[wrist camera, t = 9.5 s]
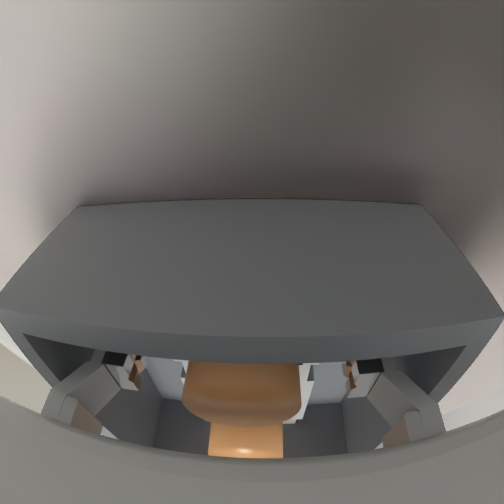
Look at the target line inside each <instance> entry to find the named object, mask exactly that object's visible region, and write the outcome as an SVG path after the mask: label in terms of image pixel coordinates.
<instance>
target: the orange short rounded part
mask: <svg viewBox="0 0 504 504" xmlns="http://www.w3.org/2000/svg"><path fill="white" fill-rule="evenodd" d="M208 455H209V456H221V457H236V458H283V422H281V423H278V424H275V425H270V426H264V427H251V428H248V427H232V426H225V425H220V424H216V423H213V422H211V430H210V438H209V447H208Z"/></svg>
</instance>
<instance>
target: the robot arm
mask: <svg viewBox="0 0 504 504" xmlns="http://www.w3.org/2000/svg"><path fill="white" fill-rule="evenodd" d="M146 364H147V356H139V355H131V354H124V353H117V352H110V351H104V350H98V349H95V352H94V354H93V356H92V358H91V361H87V362H86V363H84V364H83V365H82V366H80V367H79V368H78V369H76V370H75V371H74V372H73V373H71V374H70V375H69V376H67V377H66V378H65V379H64V380H62V381H61V382H60V383H58V384H57V385H56V386H55V387H53V388H52V389H51V390H50V392H49V395H48V397H47V400H46V402H45V405H44V407H43V409H42V412H41V414H40V413H37V412H35V411H33V410H30V409H28V408H26V407H24V406H22V405H19V404H17V403H15V402H13V401H11V400H9V399H7V398H5V397H3V396H1V395H0V504H504V410H502V411H499V412H497V413H495V414H492V415H490V416H488V417H485V418H483V419H480V420H478V421H475V422H472V423H470V424H467V425H464V426H461V427H459V428H456V429H453V430H450V431H446V430H445V427H444V423H443V419H442V416H441V412H440V409H439V405H438V404H437V403H436V402H435V401H434V400H433V399H432V398H431V397H430V396H429V395H427V394H426V393H425V392H424V391H423V390H422V389H421V388H420V387H419V386H417V385H416V384H415V383H414V382H413V381H412V380H411V379H410V378H409V377H407V376H406V375H405V374H404V373H403V372H402V371H401V370H399V371H397V368H396V364H395V361H394V358H393V357H387V358H378V359H368V360H356V361H342V371H343V375H344V376H345V377H346V378H347V380H346V382H345V389H346V394H347V398H353V397H365V396H367V398H368V399H369V401H370V402H371V403H372V404H373V405H374V407H375V408H376V409H377V410H378V411H379V413H380V414H381V415H382V416H383V417H384V419H385V420H386V421H387V422H388V423H389V425H390V426H391V427H392V428H391V429H390V430H389V431H388V432H387V433H386V434H385V435H384V436H383V437H382V442H383V448H378V449H373V450H367V451H361V452H354V453H346V454H338V455H328V456H317V457H302V458H236V457H221V456H209V455H200V454H191V453H184V452H177V451H170V450H164V449H159V448H153V447H148V446H143V445H139V444H134V443H130V442H126V441H121V440H118V439H114V438H110V437H106V436H103V435H101V432H102V428H103V425H102V423H101V422H100V421H99V420H97V419H96V418H95V417H94V416H95V415H96V414H97V413H98V412H99V411H100V410H101V409H102V408H103V407H104V406H105V405H106V404H107V403H108V402H109V401H110V400H111V399H112V398H113V397H114V396H115V395H116V394H117V393H118V392H119V391H120V390H121V388H123V389H130V390H137V391H139V388H140V384H141V381H142V375H141V372H142V371H143V370H144V369H145V367H146Z"/></svg>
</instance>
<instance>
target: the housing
mask: <svg viewBox="0 0 504 504" xmlns="http://www.w3.org/2000/svg"><path fill="white" fill-rule="evenodd" d="M503 319H504V312H503V311H502V309H501V307H500V306H499V304H498V303H497V301H496V300H495V298H494V297H493V295H492V294H491V292H490V291H489V289H488V288H487V286H486V285H485V283H484V282H483V281H482V279H481V278H480V276H479V275H478V274H477V272H476V271H475V269H474V268H473V267H472V265H471V264H470V263H469V261H468V260H467V259H466V257H465V256H464V255H463V254H462V252H461V251H460V250H459V249H458V247H457V246H456V245H455V244H454V242H453V241H452V240H451V239H450V237H449V236H448V235H447V234H446V233H445V232H444V230H443V229H442V228H441V227H440V226H439V225H438V223H437V222H436V221H435V220H434V219H433V218H432V217H431V215H430V214H429V213H428V212H427V211H426V210H425V209H424V208H423V207H422V206H421V205H415V204H400V203H384V202H366V201H342V200H308V199H213V200H179V201H155V202H136V203H120V204H106V205H93V206H81V207H77V208H76V209H75V210H74V211H73V212H71V213H70V214H69V215H68V216H67V217H66V218H65V219H64V220H63V221H62V222H61V223H60V224H59V225H58V226H57V227H56V228H55V229H54V230H53V232H52V233H51V234H50V235H49V236H48V237H47V238H46V239H45V240H44V241H43V242H42V243H41V244H40V245H39V246H38V248H37V249H36V250H35V251H34V252H33V253H32V254H31V255H30V257H29V258H28V259H27V260H26V261H25V262H24V264H23V265H22V266H21V267H20V268H19V269H18V271H17V272H16V273H15V274H14V276H13V277H12V278H11V279H10V281H9V282H8V283H7V284H6V286H5V287H4V288H3V289H2V291H1V292H0V322H1V323H2V325H3V326H4V328H5V329H6V331H7V332H8V334H9V335H10V336H11V338H12V339H13V340H14V342H15V343H16V344H17V346H18V347H19V348H20V350H21V351H22V352H23V354H24V355H25V356H26V357H27V359H28V360H29V361H30V362H31V364H32V365H33V366H34V367H35V368H36V369H37V371H38V372H39V373H40V374H41V375H42V376H43V377H44V379H45V380H46V381H47V382H48V383H49V384H50V385H51V386H52V388H53V387H55V386H56V385H57V384H58V383H60V382H61V381H62V380H64V379H65V378H66V377H67V376H69V375H70V374H71V373H73V372H74V371H75V370H76V369H78V368H79V367H80V366H82V365H83V364H84V363H86V362H87V361H91V358H92V356H93V354H94V352H95V349H98V350H104V351H110V352H117V353H124V354H131V355H139V356H147V364H146V367H145V369H144V370H143V371H142V372H141V375H142V381H141V384H140V388H139V391H137V390H130V389H123V388H121V390H120V391H119V392H118V393H117V394H116V395H115V396H114V397H113V398H112V399H111V400H110V401H109V402H108V403H107V404H106V405H105V406H104V407H103V408H102V409H101V410H100V411H99V412H98V413H97V414H96V415H95V416H94V417H95V418H96V419H97V420H99V421H100V422H101V423H102V425H103V428H102V432H101V434H102V435H103V436H106V437H110V438H114V439H118V440H121V441H126V442H130V443H134V444H139V445H143V446H148V447H153V448H159V449H164V450H170V451H177V452H184V453H191V454H200V455H208V447H209V438H210V430H211V422H210V421H207V420H204V419H202V418H200V417H198V416H196V415H194V414H193V413H191V412H190V411H189V410H188V409H187V408H186V407H185V406H184V405H183V403H182V392H183V387H184V382H185V377H186V372H187V367H188V362H189V361H201V362H218V363H245V364H299V374H300V388H301V402H302V405H301V409H300V411H299V412H298V413H297V414H296V415H295V416H294V417H292V418H291V419H289V420H286V421H284V422H283V458H302V457H317V456H328V455H338V454H346V453H354V452H361V451H367V450H373V449H378V448H383V442H382V437H383V436H384V435H385V434H386V433H387V432H388V431H389V430H390V429H391V428H392V427H391V426H390V425H389V423H388V422H387V421H386V420H385V419H384V417H383V416H382V415H381V414H380V413H379V411H378V410H377V409H376V408H375V407H374V405H373V404H372V403H371V402H370V401H369V399H368V398H367V396H365V397H353V398H347V394H346V389H345V382H346V380H347V378H346V377H345V376H344V375H343V371H342V361H356V360H368V359H378V358H387V357H393V358H394V361H395V364H396V368H397V371H399V370H401V371H402V372H403V373H404V374H405V375H406V376H407V377H409V378H410V379H411V380H412V381H413V382H414V383H415V384H416V385H417V386H419V387H420V388H421V389H422V390H423V391H424V392H425V393H426V394H427V395H429V396H430V397H431V398H432V399H433V400H434V401H435V402H436V403H438V402H439V401H440V400H441V399H442V398H443V397H444V396H445V395H446V394H447V393H448V392H449V390H450V389H451V388H452V387H453V386H454V385H455V384H456V382H457V381H458V380H459V379H460V378H461V377H462V375H463V374H464V373H465V372H466V371H467V369H468V368H469V367H470V366H471V364H472V363H473V362H474V361H475V359H476V358H477V357H478V355H479V354H480V353H481V351H482V350H483V349H484V347H485V346H486V344H487V343H488V342H489V340H490V339H491V337H492V336H493V334H494V333H495V332H496V330H497V329H498V327H499V326H500V324H501V322H502V321H503Z"/></svg>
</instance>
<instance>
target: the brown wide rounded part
mask: <svg viewBox="0 0 504 504" xmlns="http://www.w3.org/2000/svg"><path fill="white" fill-rule="evenodd" d="M182 403H183V405H184V406H185V407H186V408H187V409H188V410H189V411H190V412H191V413H193V414H194V415H196V416H198V417H200V418H202V419H204V420H207V421H210V422H213V423H216V424H220V425H225V426H232V427H248V428H251V427H264V426H270V425H275V424H278V423H281V422H284V421H286V420H289V419H291V418H292V417H294V416H295V415H296V414H297V413H298V412H299V411H300V409H301V405H302V402H301V388H300V374H299V364H245V363H218V362H201V361H189V362H188V367H187V372H186V377H185V382H184V387H183V392H182Z"/></svg>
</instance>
